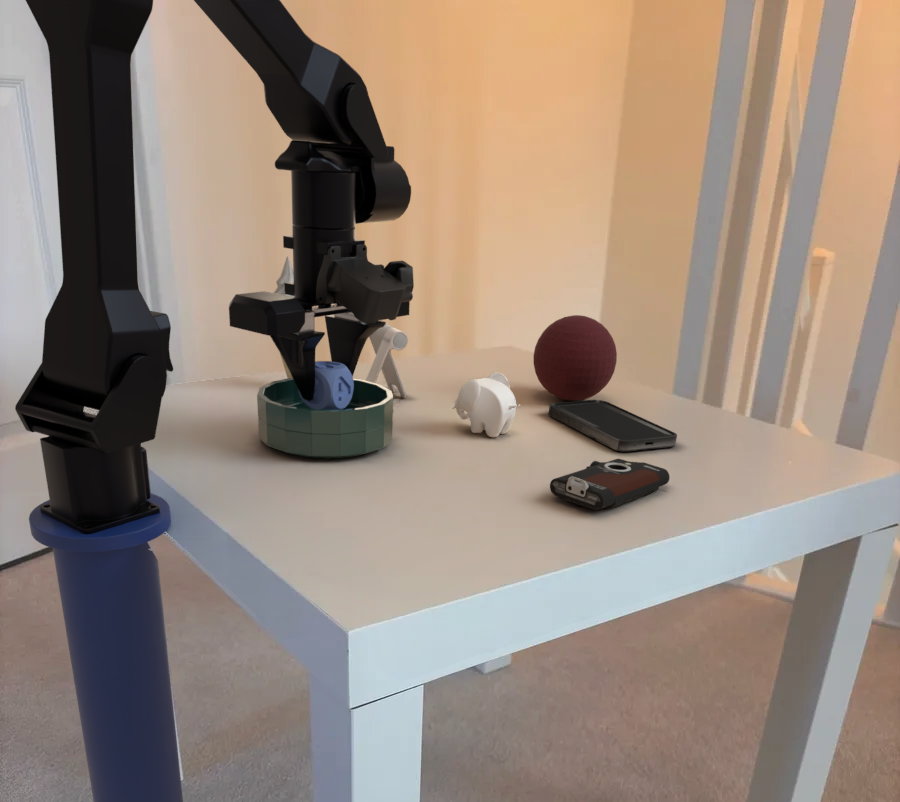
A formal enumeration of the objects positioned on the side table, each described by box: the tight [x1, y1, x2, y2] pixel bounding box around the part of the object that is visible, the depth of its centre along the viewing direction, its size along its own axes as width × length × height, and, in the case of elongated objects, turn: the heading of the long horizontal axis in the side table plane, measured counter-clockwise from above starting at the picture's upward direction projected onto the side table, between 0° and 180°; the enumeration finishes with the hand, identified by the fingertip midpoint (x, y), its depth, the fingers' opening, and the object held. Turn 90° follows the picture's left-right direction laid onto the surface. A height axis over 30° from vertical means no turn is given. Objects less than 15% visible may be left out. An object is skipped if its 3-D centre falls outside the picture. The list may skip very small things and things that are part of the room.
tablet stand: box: [365, 323, 409, 399], centre depth 107 cm, size 9×8×8 cm
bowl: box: [256, 378, 394, 459], centre depth 91 cm, size 13×13×5 cm
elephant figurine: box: [451, 371, 521, 438], centre depth 97 cm, size 7×8×6 cm
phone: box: [548, 399, 678, 453], centre depth 101 cm, size 8×1×15 cm
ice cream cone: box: [273, 256, 295, 379], centre depth 107 cm, size 5×5×15 cm
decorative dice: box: [299, 360, 354, 410], centre depth 90 cm, size 4×4×4 cm
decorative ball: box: [533, 314, 618, 402], centre depth 110 cm, size 10×10×10 cm
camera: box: [549, 458, 671, 511], centre depth 83 cm, size 6×3×11 cm
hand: (325, 395), depth 90 cm, fingers closed on decorative dice, 4 cm apart
